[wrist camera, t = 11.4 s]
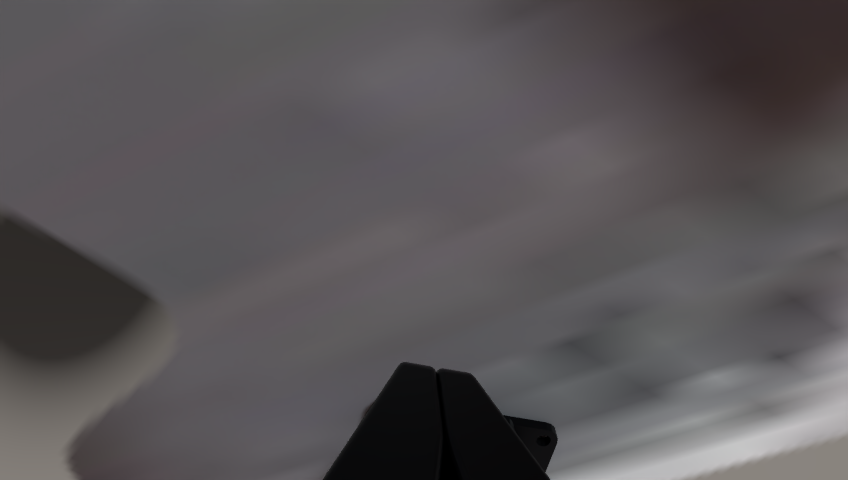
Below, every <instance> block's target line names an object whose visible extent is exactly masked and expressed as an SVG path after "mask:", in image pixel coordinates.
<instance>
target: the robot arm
mask: <svg viewBox="0 0 848 480" xmlns="http://www.w3.org/2000/svg"><path fill="white" fill-rule="evenodd" d="M543 435H546V436H547V437H545V438H538V437H540V436H543ZM557 440H558V438H557V434H556V430H555V428H554V426H552V425H551V424H549V423H546V422H540V421H534V420H528V419H522V418H516V417H510V416H504V415H502V413H501V412H500V411H499V409H498V408H497V407H496V405H495V404H494V403H493V401H492V400H491V399H490V397H489V396H488V395H487V393H486V392H485V390H484V389H483V388H482V386H481V385H480V384H479V382H478V381H477V380H476V378H475V377H474V376H473V375H472V374H470V373H467V372H461V371H455V370H449V369H439V370H438V371H437V372H436V371H435V369H434V368H432V367H430V366H425V365H420V364H414V363H408V362H403V363H401V364H400V365H399V366H398V367H397V369H396V370H395V372H394V373H393V375H392V376H391V378H390V379H389V381H388V382H387V384H386V385H385V387H384V388H383V390H382V391H381V393H380V394H379V396H378V397H377V399H376V400H375V402H374V403H373V405H372V406H371V408H370V409H369V411H368V412H367V414H366V415H365V417H364V418H363V420H362V421H361V423H360V424H359V426H358V427H357V429H356V430H355V432H354V433H353V435H352V436H351V438H350V439H349V441H348V442H347V444H346V445H345V447H344V448H343V450H342V451H341V453H340V454H339V456H338V457H337V459H336V460H335V462H334V463H333V465H332V466H331V468H330V469H329V471H328V472H327V474H326V475H325V477H324V478H323V480H550V478H549V477H548V476H547V474H546V473H545V472H546V469H547V467H548V464H549V462H550V459H551V457H552V454H553V452H554V450H555V447H556V445H557Z"/></svg>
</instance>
